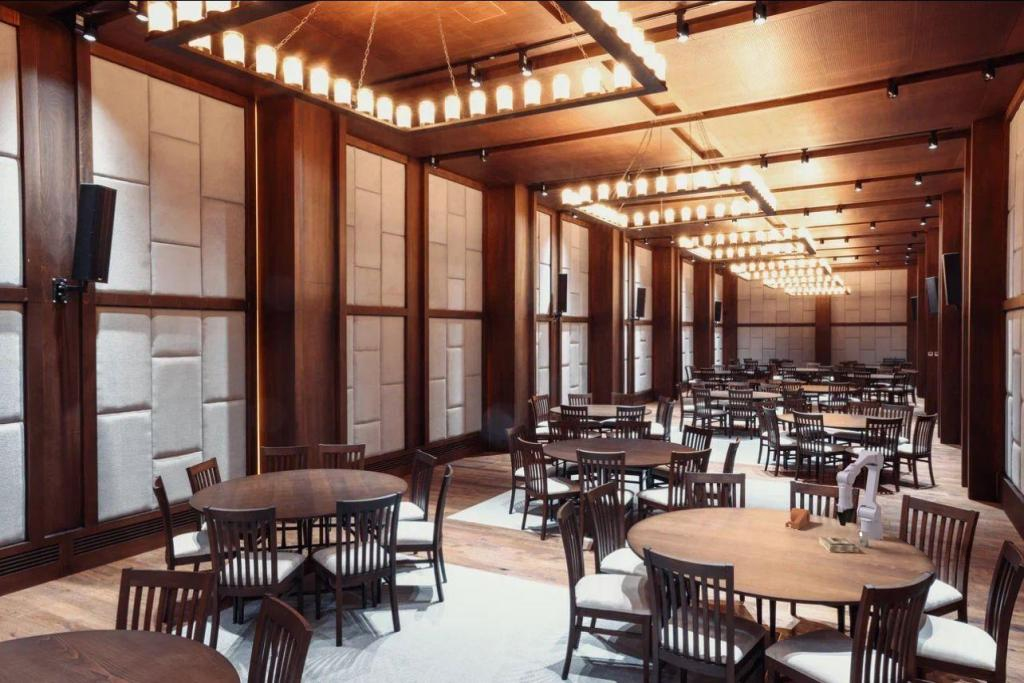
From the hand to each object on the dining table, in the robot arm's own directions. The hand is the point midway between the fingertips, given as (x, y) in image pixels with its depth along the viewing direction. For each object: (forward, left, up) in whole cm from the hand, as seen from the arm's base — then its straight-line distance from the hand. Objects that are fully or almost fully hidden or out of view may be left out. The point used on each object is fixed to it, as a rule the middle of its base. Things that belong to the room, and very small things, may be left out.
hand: (845, 524), depth 336 cm
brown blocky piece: (+12, -35, -11) cm, 38 cm away
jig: (+5, +5, -10) cm, 13 cm away
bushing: (-8, +2, -10) cm, 13 cm away
